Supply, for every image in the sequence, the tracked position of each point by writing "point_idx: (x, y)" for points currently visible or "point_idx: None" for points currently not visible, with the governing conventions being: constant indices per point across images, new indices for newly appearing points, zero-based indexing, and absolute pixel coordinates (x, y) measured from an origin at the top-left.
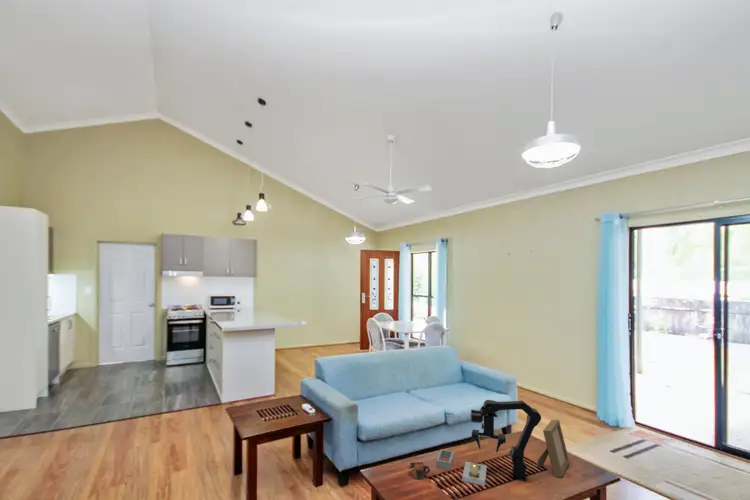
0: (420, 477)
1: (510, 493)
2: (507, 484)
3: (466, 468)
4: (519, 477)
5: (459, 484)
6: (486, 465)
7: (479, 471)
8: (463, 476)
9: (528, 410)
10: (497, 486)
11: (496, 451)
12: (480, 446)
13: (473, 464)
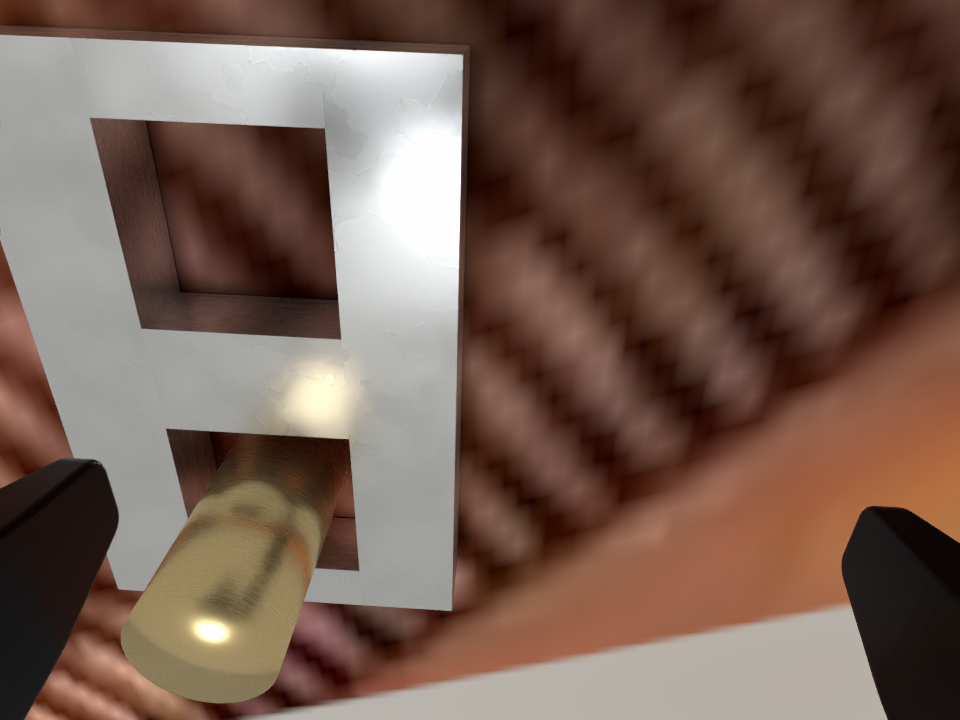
0: None
1: (782, 617)
2: (804, 444)
3: (81, 354)
4: None
5: None
6: (458, 57)
7: (335, 384)
8: (133, 586)
9: None
10: (632, 527)
11: (873, 660)
12: (9, 574)
13: (180, 656)
